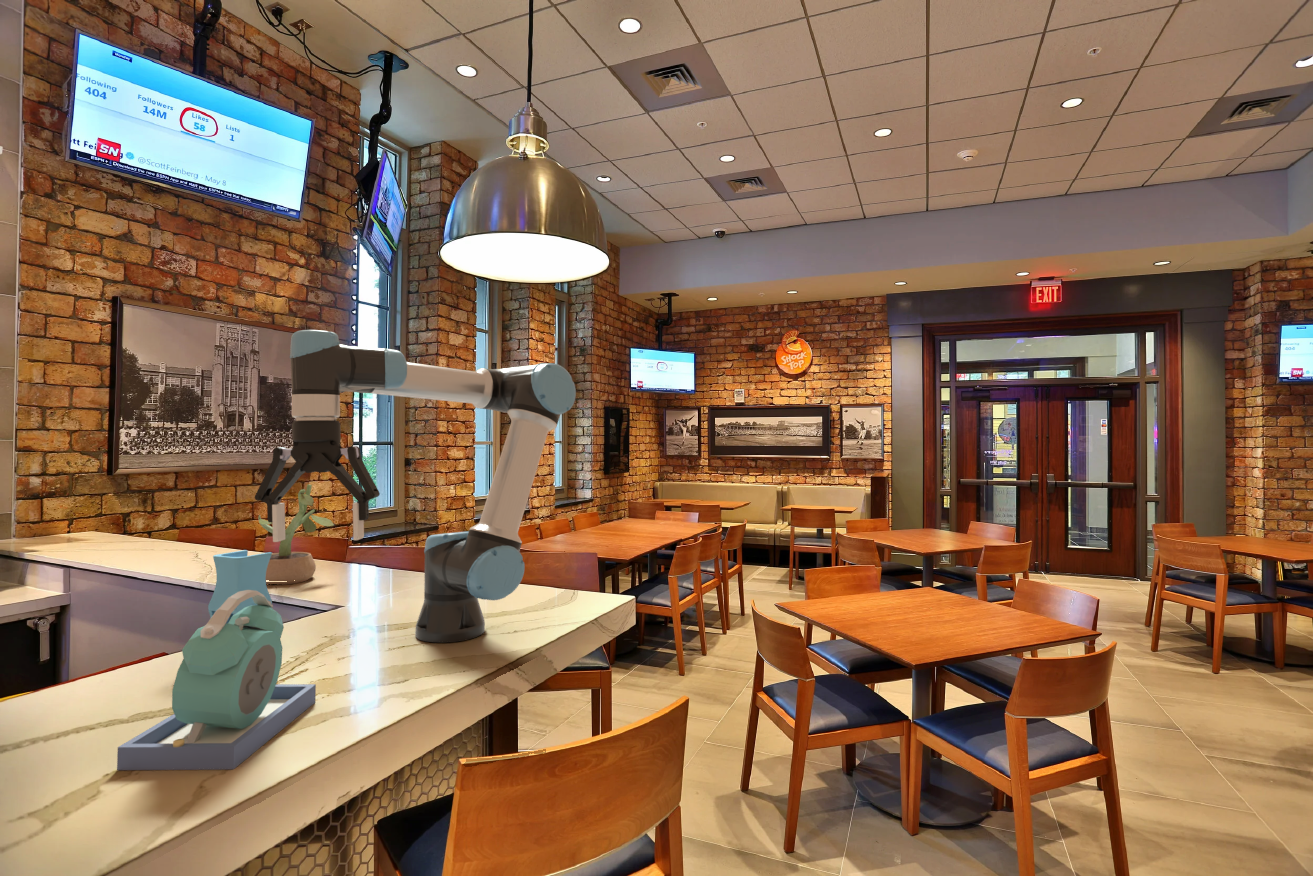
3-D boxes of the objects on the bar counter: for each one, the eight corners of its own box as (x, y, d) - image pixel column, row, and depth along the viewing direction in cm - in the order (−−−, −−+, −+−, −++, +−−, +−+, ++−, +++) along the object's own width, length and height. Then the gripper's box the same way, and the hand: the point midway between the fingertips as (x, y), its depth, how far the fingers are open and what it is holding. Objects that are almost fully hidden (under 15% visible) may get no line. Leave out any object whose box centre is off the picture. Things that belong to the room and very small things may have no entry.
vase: (270, 646, 135) (272, 552, 135) (235, 658, 127) (237, 558, 128) (243, 642, 138) (245, 549, 138) (207, 653, 130) (209, 555, 130)
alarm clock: (231, 702, 104) (233, 579, 104) (291, 701, 104) (294, 579, 105) (155, 754, 86) (158, 606, 87) (228, 752, 87) (231, 606, 87)
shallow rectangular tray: (315, 702, 107) (316, 680, 107) (233, 769, 85) (233, 742, 85) (223, 702, 106) (224, 680, 106) (116, 770, 84) (117, 743, 84)
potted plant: (237, 586, 190) (239, 485, 190) (274, 574, 208) (276, 482, 208) (311, 587, 189) (313, 486, 190) (343, 575, 207) (344, 483, 208)
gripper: (396, 418, 117) (398, 534, 117) (254, 420, 115) (257, 537, 115) (381, 418, 109) (384, 541, 110) (229, 420, 107) (232, 545, 108)
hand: (319, 540), depth 112 cm, fingers open, 13 cm apart
